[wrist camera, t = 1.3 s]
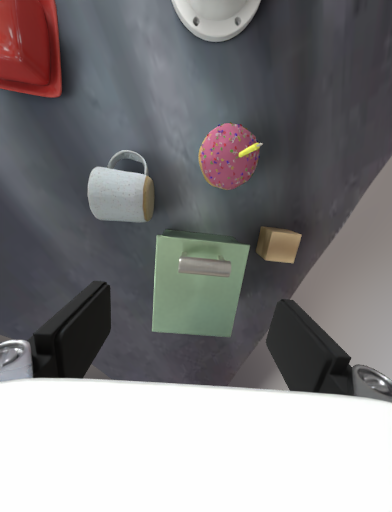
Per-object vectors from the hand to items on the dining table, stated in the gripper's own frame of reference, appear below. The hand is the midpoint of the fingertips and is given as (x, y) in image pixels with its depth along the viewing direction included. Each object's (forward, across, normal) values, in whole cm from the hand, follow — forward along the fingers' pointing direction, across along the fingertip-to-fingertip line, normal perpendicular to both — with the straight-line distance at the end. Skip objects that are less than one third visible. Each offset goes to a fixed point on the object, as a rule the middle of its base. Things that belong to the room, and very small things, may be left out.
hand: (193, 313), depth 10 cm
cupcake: (+25, -4, -12) cm, 28 cm away
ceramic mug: (+25, +11, -6) cm, 28 cm away
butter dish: (+25, +26, -23) cm, 43 cm away
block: (+25, -15, 0) cm, 30 cm away
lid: (+16, -2, +7) cm, 18 cm away
